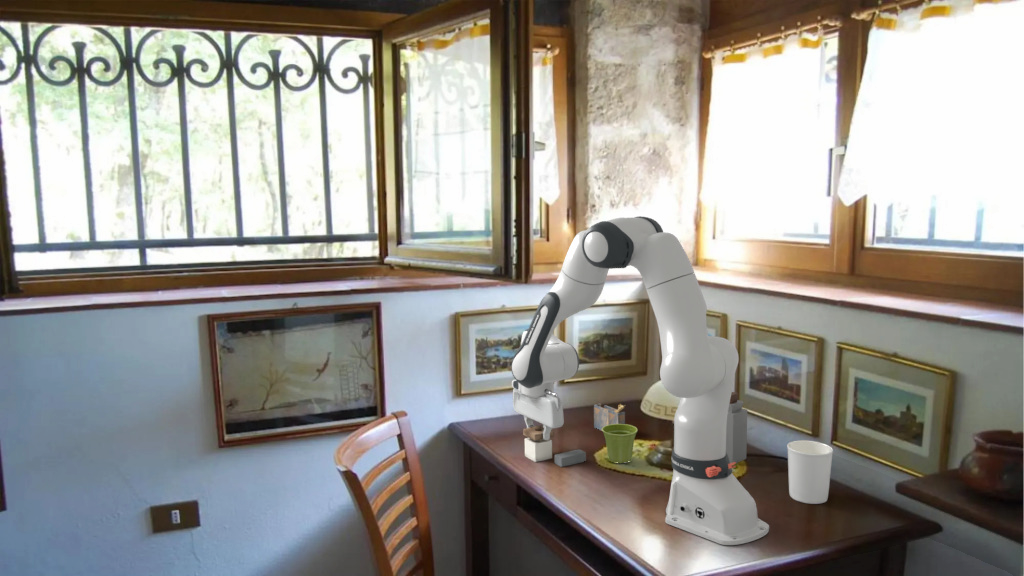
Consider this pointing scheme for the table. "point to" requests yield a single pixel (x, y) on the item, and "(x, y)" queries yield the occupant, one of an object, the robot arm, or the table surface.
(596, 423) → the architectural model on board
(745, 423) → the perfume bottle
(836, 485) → the table surface
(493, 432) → the table surface
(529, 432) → the lid
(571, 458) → the gray rectangular block
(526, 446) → the white open box
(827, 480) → the candle holder
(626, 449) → the plant pot
